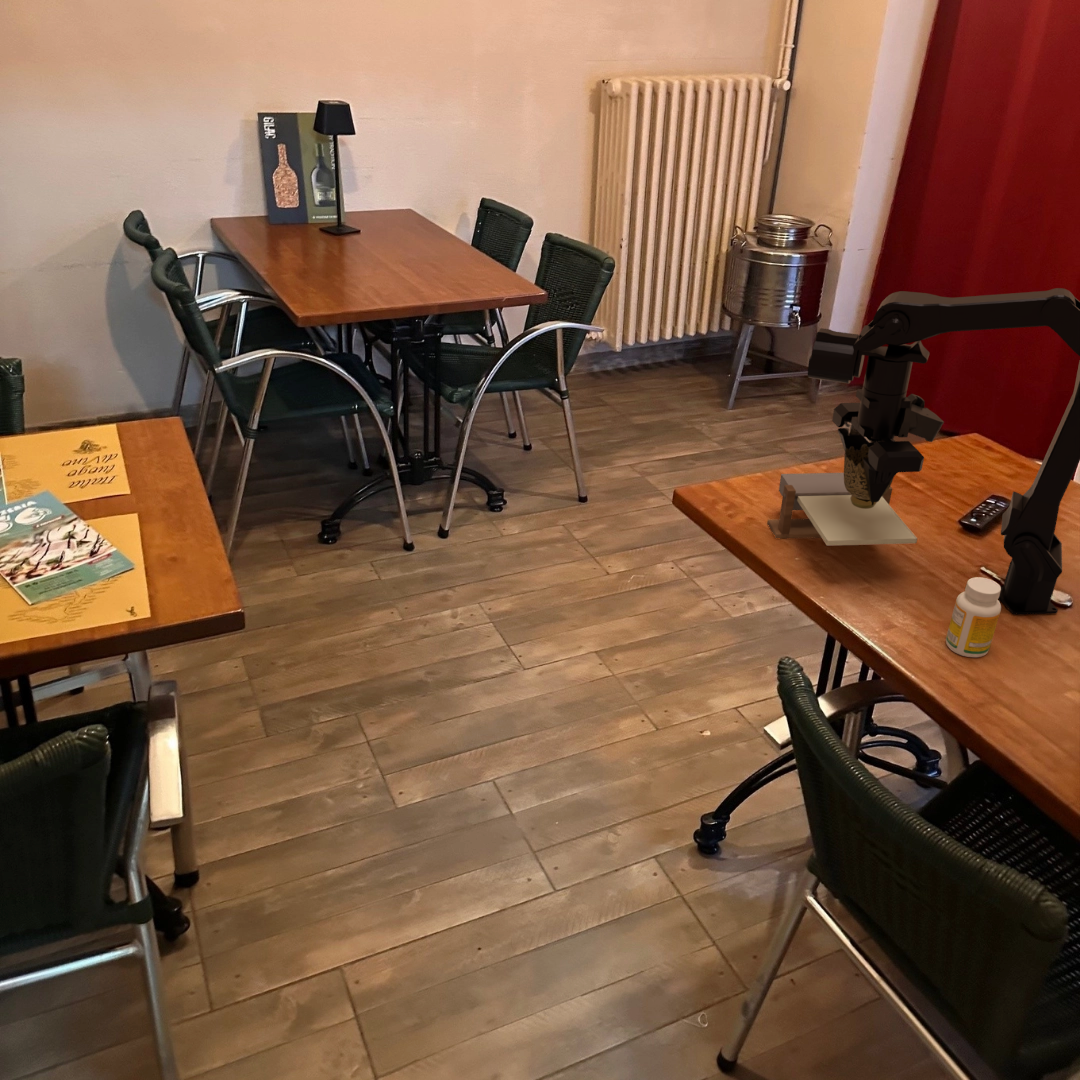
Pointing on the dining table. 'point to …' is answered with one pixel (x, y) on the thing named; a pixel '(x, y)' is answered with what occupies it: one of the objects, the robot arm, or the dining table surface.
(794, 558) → the dining table surface
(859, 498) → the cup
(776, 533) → the post frame
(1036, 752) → the dining table surface
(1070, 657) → the dining table surface
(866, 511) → the trapdoor
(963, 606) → the supplement bottle
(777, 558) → the dining table surface
